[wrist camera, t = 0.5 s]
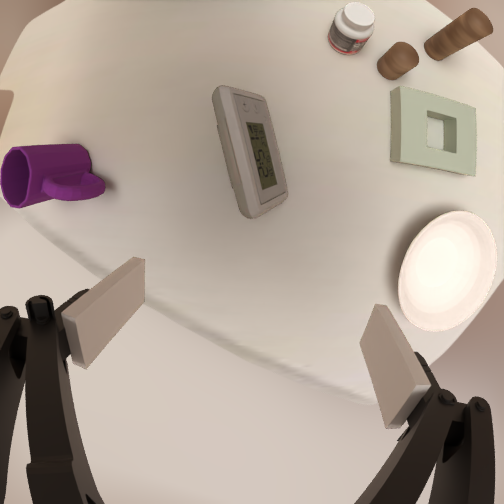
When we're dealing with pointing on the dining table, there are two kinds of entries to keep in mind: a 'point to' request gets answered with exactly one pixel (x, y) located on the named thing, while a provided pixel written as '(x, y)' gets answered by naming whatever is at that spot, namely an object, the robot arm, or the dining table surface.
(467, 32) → the long dowel
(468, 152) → the hole board
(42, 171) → the mug
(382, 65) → the short dowel
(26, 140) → the dining table surface
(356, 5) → the pill bottle
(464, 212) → the bowl
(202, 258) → the dining table surface
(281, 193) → the digital clock
